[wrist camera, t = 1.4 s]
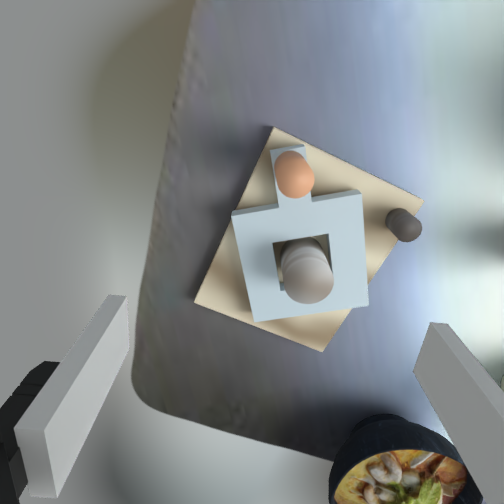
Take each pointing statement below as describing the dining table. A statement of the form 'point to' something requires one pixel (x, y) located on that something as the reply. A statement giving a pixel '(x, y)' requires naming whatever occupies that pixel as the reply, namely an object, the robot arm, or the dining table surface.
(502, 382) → the can
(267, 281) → the flange plate
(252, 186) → the post base
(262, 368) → the dining table surface
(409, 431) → the bowl
